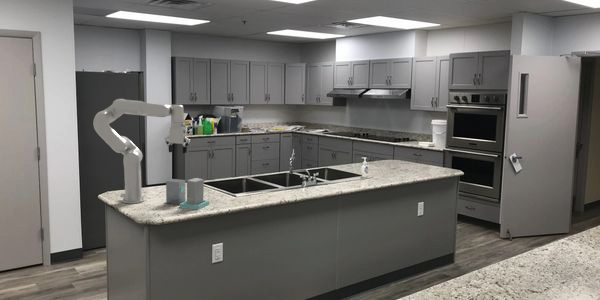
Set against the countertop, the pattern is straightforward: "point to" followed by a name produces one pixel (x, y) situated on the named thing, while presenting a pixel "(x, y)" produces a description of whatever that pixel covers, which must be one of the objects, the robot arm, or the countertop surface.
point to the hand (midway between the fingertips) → (177, 152)
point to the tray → (190, 206)
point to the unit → (175, 192)
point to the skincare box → (195, 191)
